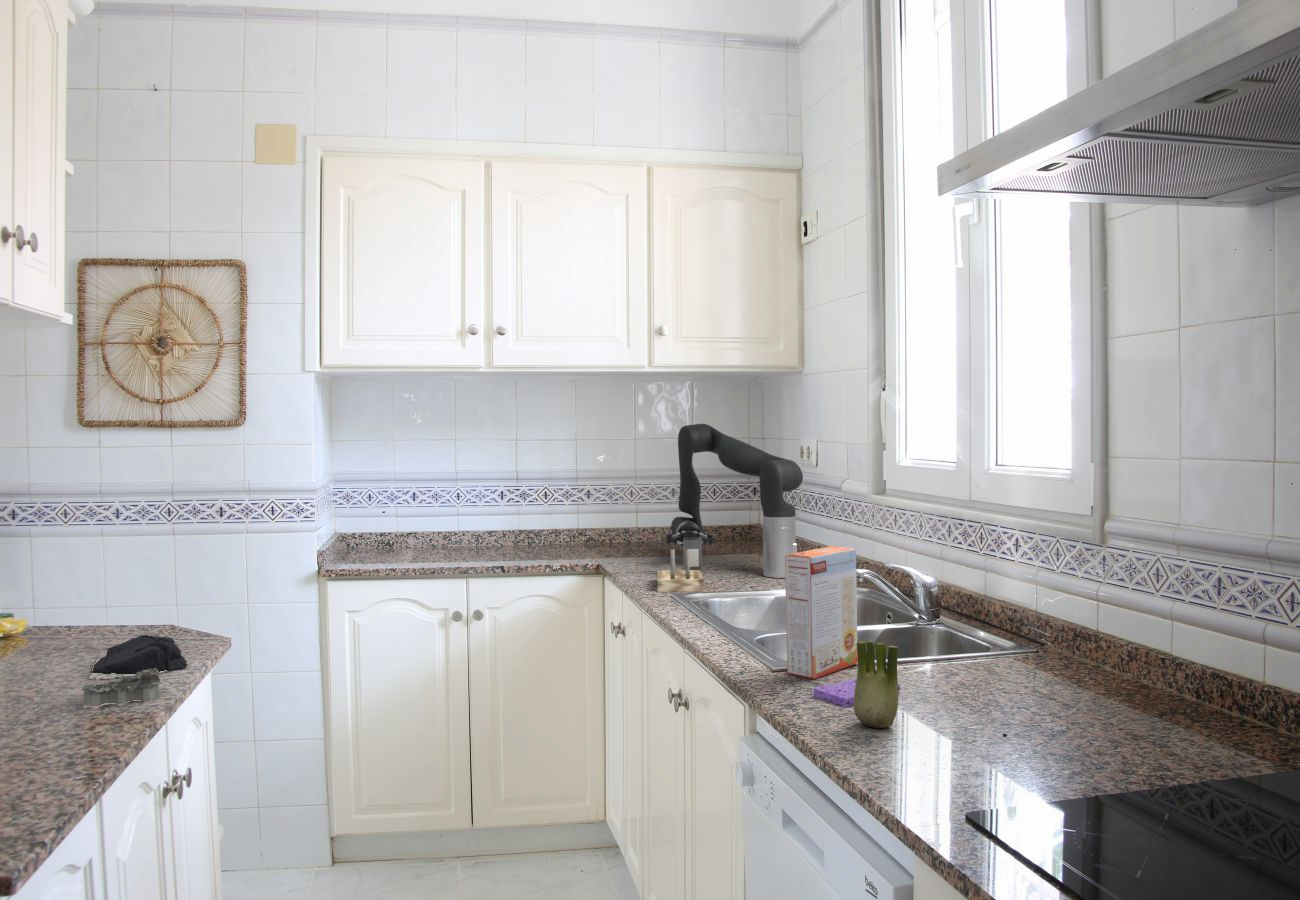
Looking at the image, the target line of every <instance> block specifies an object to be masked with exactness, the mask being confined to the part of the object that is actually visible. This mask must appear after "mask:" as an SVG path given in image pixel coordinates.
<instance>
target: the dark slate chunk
mask: <svg viewBox="0 0 1300 900" xmlns="http://www.w3.org/2000/svg"><path fill="white" fill-rule="evenodd" d="M106 650H108V651H107V655H106V656H105V657H103V658H101V659H100V660H99V661H98V662H97V663H96V664H95V665H94V668H93V671H92V673H103V674H111V673H116V674H136V673H137V672H140V671H142V670H148V669H154V668H158V671H159V672H160V671H165V670H167V671H170V672H173V671H178V669H181V670H185V669H186V667H187V665H188V663H187V660H186V658H185V657H184V656H183V655H182V654H181V653H182V651H181V650H180V648H179V647H178V645H177V644H176V641H175V640H174V639H173V638H172V637H169V636H159V635H158V636H156V635H149V634H142V635H138V636H137V637H133V638H130V639H128V640H126V641H124V642H122V643H120V644H116V645H114V646H111V647H109V648H107V649H106ZM172 670H173V671H172Z"/></svg>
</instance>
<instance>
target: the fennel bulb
mask: <svg viewBox="0 0 1300 900" xmlns="http://www.w3.org/2000/svg"><path fill="white" fill-rule="evenodd" d="M886 648H887V647H886V643H882V642H877V643H875V646H874V641H868V640H867V641H861V640H860V641H857V654H858V656H857V658H858V663H857V674H856V679H857V680H856V685H855V693H854V705H853V712H854V715H855V717H856V718H857V720H858V721H859V722H860V723H861V724H863V725H865V726H868V727H871V728H875V729H882V728H883V729H884V728H889V727H892V726H893V723H894V720H895V718H896V716H897V713H898V712H897V711H898V706H899V691H898V685H899V681H898V655H899V654H898V653H899V647H898V646H895V645H889V646H888V649H886ZM887 650H888V651H887ZM887 652H888V653H887ZM875 654H876V655H875ZM875 657H876V658H875ZM875 659H876V661H875Z"/></svg>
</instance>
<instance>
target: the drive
mask: <svg viewBox="0 0 1300 900" xmlns="http://www.w3.org/2000/svg"><path fill="white" fill-rule="evenodd" d="M702 545H703V544H702V540H701V537H683V546H682V550H683V553H682V554H683V555H682V556H683V559H682V561H683V563H682V564H683V570H685V550H686V549H689V550H690V570H701V573H702V574H703V564H702V563H703V557H702V556H703V549H702V548H703V547H702Z"/></svg>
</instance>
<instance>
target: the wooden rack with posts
mask: <svg viewBox="0 0 1300 900" xmlns="http://www.w3.org/2000/svg"><path fill="white" fill-rule="evenodd" d="M675 553H676V549H670V550H669V554H670V555H669V560H670V561H669V566H670V567H669V569H667V570H663V569H662V570H657V575H656V576H657V577H656V578H657V579H656V581H657V585H656V587H657V592H662V593H663V592H664V593H665V592H700V591H699V590H704V577H703V572H702V573H701V570H690V550H689V549H686V550H685V570H681V569H677V570H676V568H675V567H676V559H675V558H676V554H675ZM704 591H705V590H704Z"/></svg>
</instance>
